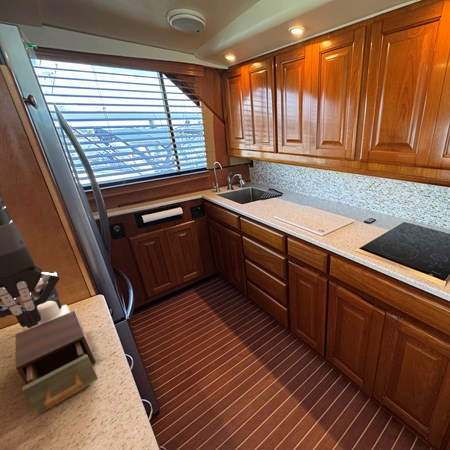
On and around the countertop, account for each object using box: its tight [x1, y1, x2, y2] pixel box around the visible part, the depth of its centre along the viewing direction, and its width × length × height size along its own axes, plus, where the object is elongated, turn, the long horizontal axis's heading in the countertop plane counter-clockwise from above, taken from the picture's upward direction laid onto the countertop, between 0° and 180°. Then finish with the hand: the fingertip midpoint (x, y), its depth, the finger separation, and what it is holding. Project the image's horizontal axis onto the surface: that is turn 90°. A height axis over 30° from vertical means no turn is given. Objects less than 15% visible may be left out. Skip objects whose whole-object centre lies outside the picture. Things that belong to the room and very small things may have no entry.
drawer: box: [21, 341, 99, 415], centre depth 54 cm, size 18×10×7 cm, turn 49°
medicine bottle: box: [31, 297, 71, 328], centre depth 68 cm, size 7×7×12 cm
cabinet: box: [15, 310, 97, 385], centre depth 60 cm, size 14×11×9 cm
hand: (32, 324), depth 49 cm, fingers closed
